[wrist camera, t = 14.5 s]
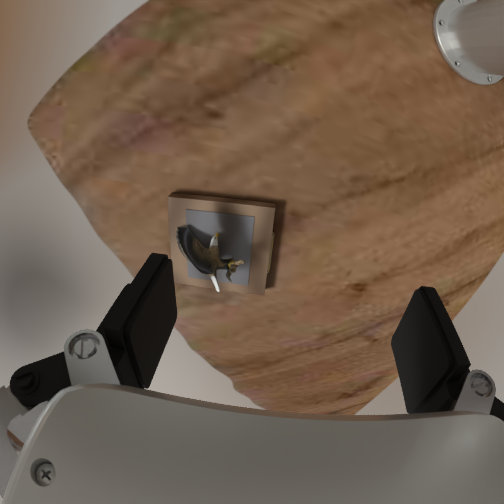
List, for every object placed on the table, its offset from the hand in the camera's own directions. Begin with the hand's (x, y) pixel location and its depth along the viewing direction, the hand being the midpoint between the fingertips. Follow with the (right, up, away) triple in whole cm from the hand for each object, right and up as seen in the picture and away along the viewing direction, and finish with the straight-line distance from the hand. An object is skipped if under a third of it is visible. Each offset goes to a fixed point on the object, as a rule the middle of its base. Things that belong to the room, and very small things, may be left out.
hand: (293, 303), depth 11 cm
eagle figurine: (-7, +3, +31) cm, 32 cm away
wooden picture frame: (-6, +3, +32) cm, 33 cm away
